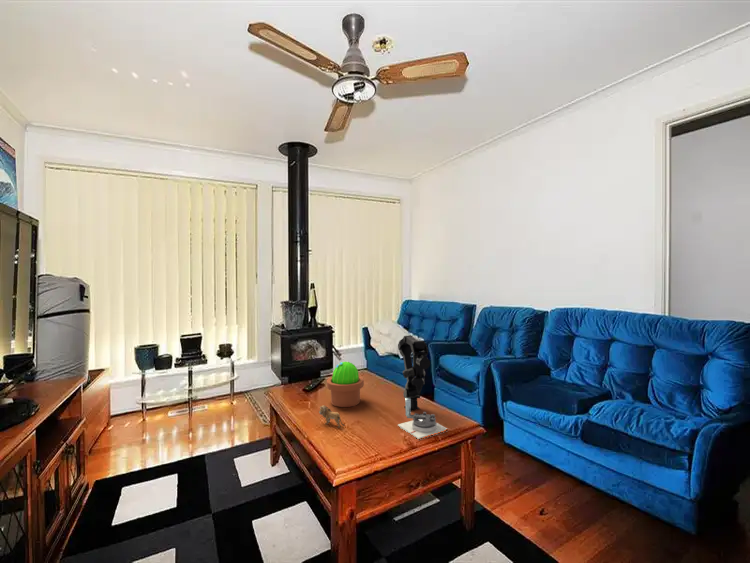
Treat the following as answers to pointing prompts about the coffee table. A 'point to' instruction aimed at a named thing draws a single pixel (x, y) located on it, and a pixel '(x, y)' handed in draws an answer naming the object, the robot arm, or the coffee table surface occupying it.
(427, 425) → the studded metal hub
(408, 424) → the mounting plate
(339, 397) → the potted cactus
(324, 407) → the lion figurine
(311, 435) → the coffee table surface
